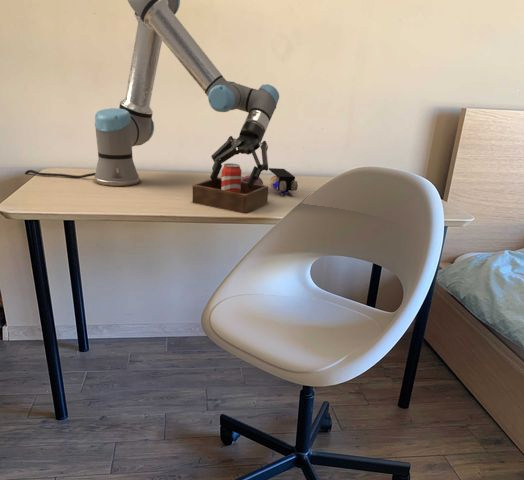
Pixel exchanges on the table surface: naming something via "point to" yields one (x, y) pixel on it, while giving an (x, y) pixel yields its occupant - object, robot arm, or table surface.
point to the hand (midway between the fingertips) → (230, 183)
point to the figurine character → (283, 181)
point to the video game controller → (257, 181)
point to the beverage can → (231, 178)
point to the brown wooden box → (230, 196)
